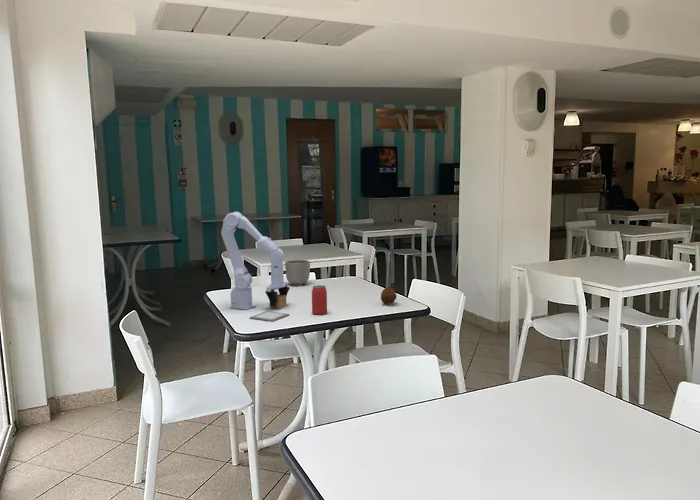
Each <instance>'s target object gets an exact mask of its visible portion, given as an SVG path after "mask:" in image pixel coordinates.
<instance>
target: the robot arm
mask: <svg viewBox="0 0 700 500" xmlns="http://www.w3.org/2000/svg"><path fill="white" fill-rule="evenodd" d="M222 222H223V223H222V228H221V233H220V234H221V237H222V240H223V243H224V246H225V249H226V251H227V254H228V257H229V260H230V263H231V265H232V268H233V276H234V285H235V287H233V288H232V289H231V291H230V306H229V308H230V309H237V310H249V309H252V308H254V307H257V305H256V304H253V292H252V291H253V290H252V288H253V287H252V285H251V284H252V282H253V276H252V274H251V273H249V271H248V269H247V267H246V266H245V264H244V261H243V260H244V259H243V258H242V255H241V251H240V249H239V246H238V243H237V241H236V237H235V235H234V234H235V232H236V231H237V228H238V229H242V230H245V231H246V232H247V233H248V234H249V235H250V236H251V237H252V238H253V239H255V241H257V247H259V249H261V251H263V253H265V255H267V256H269V257H268V258H269V260H270V281H271V282H270V283H271V284H269V286H267V287H266V288H265V289H266V290H265V294H266V296H267V298H268V300H269V305H270V304H271V306H276V297H277V294H279V295H286V297H287V295H288V293H289V291H290V286H289V282H288V281H285V279H284V273H285V272H284V257H285V253H284V251H283V250H282V248H279V246H278V245H276V244H275V243H274V242H273V241H272V238H271V237H268V236H263V234H261V233H260V232H259V230H258V229H257V228H256V227H255V225H254V224H252V222H250V221H249V219H248V218H247V217H246V216H244V215H243V214H242V213H241V212H239V211H233V212H229V213H227V214H226V216H224V219H223V221H222ZM276 290H278V291H276Z"/></svg>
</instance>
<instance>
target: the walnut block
mask: <svg viewBox="0 0 700 500" xmlns="http://www.w3.org/2000/svg"><path fill="white" fill-rule="evenodd" d="M287 306H288V305H287V296H286V295H280V294H279V293H277V297H276V306H271V304H270V303H269V309H273V310H274V309H276V310H282V309H284V308H287Z"/></svg>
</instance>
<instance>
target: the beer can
mask: <svg viewBox="0 0 700 500" xmlns="http://www.w3.org/2000/svg"><path fill="white" fill-rule="evenodd" d="M327 291H328V290H327V288H326V286H325V285H322V284H321V285H320V284H318V285H314V286H312V289H311V313H312V314H313V315H317V316H318V315H319V316H321V315H326V314H327V313H328V294H327V293H328V292H327Z"/></svg>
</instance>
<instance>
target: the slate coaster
mask: <svg viewBox="0 0 700 500" xmlns="http://www.w3.org/2000/svg"><path fill="white" fill-rule="evenodd" d="M288 316H290V314H289V313H285V312H276V311H268V310H265V311H263V312H260V313H257V314H255V315H252V316H249V319H250V320H257V321H263V322H269V321H271V323H274V322H277V321H279V320H282V319H284V318H286V317H288ZM273 321H274V322H273Z"/></svg>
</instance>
